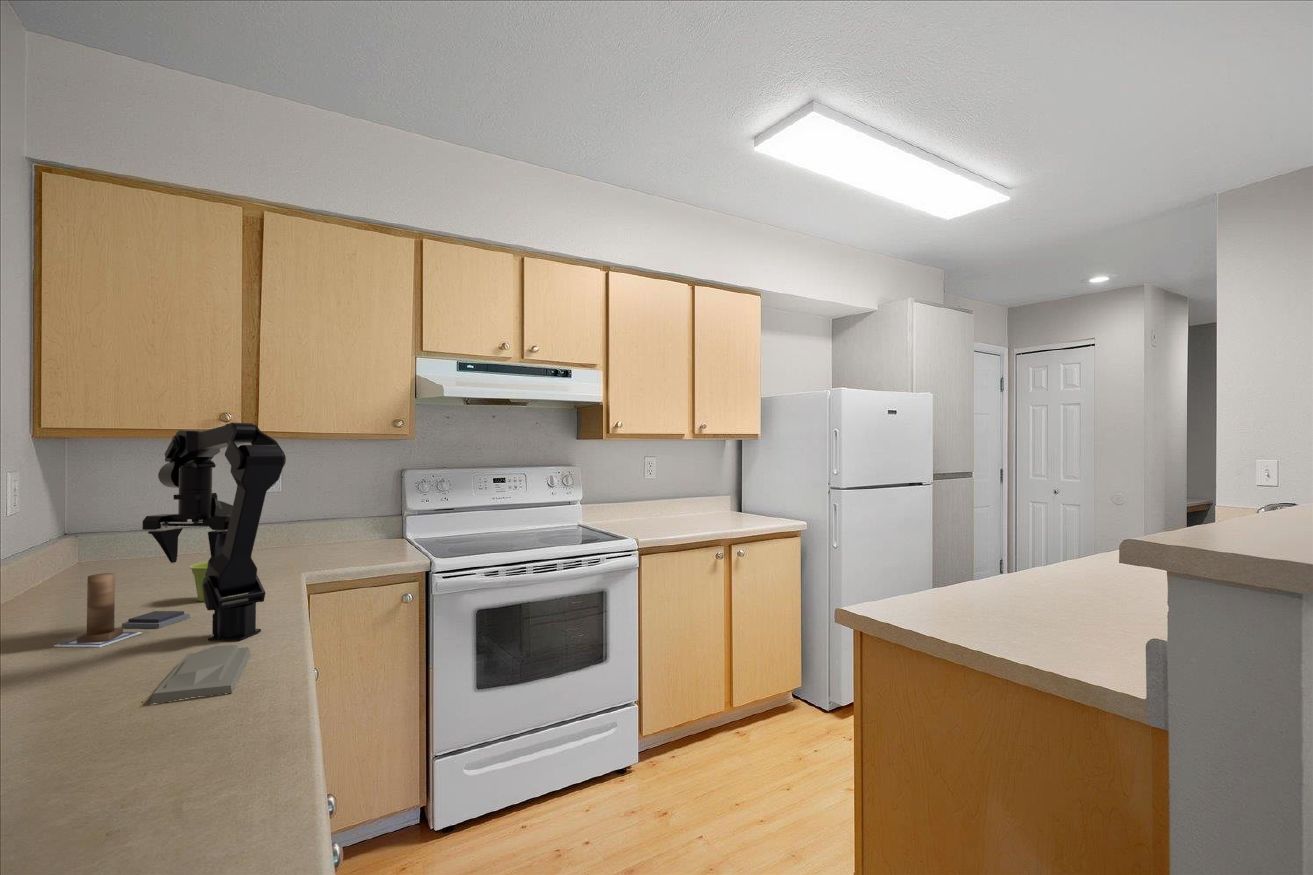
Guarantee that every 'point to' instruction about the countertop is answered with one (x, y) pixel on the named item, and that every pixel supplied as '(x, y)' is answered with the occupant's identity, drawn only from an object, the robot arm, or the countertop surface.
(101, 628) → the stamp
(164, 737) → the countertop surface
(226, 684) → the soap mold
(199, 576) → the plant pot
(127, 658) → the countertop surface
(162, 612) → the ink pad
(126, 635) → the print card
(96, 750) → the countertop surface
